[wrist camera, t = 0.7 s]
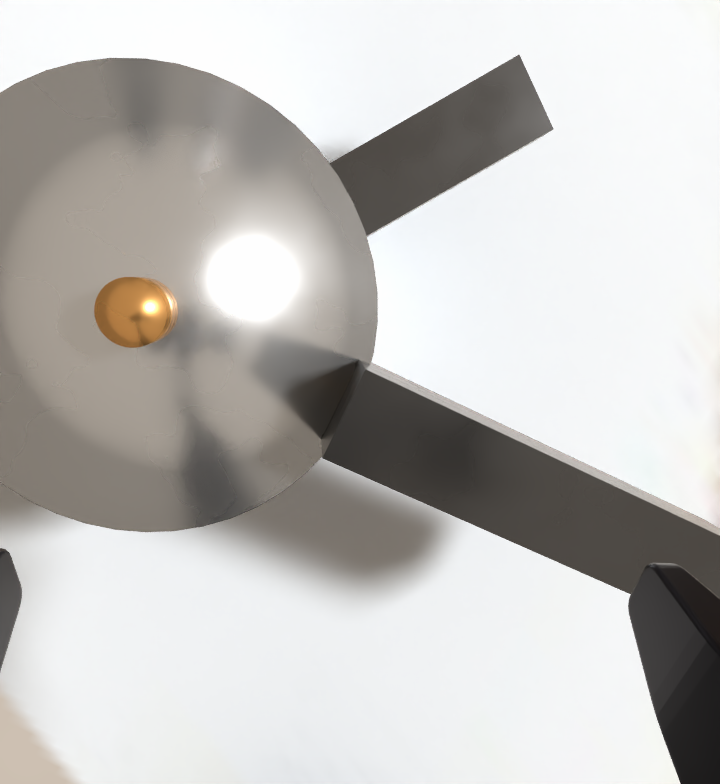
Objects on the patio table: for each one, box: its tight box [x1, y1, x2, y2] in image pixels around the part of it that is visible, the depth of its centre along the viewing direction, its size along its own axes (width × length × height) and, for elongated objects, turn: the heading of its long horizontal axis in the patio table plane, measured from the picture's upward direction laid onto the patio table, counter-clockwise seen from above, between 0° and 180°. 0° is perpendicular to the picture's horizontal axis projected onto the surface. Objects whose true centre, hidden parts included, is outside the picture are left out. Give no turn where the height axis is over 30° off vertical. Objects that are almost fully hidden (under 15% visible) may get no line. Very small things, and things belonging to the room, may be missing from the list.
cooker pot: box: [330, 55, 553, 237], centre depth 22 cm, size 22×13×7 cm, turn 119°
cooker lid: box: [0, 58, 720, 598], centre depth 18 cm, size 26×13×3 cm, turn 64°
